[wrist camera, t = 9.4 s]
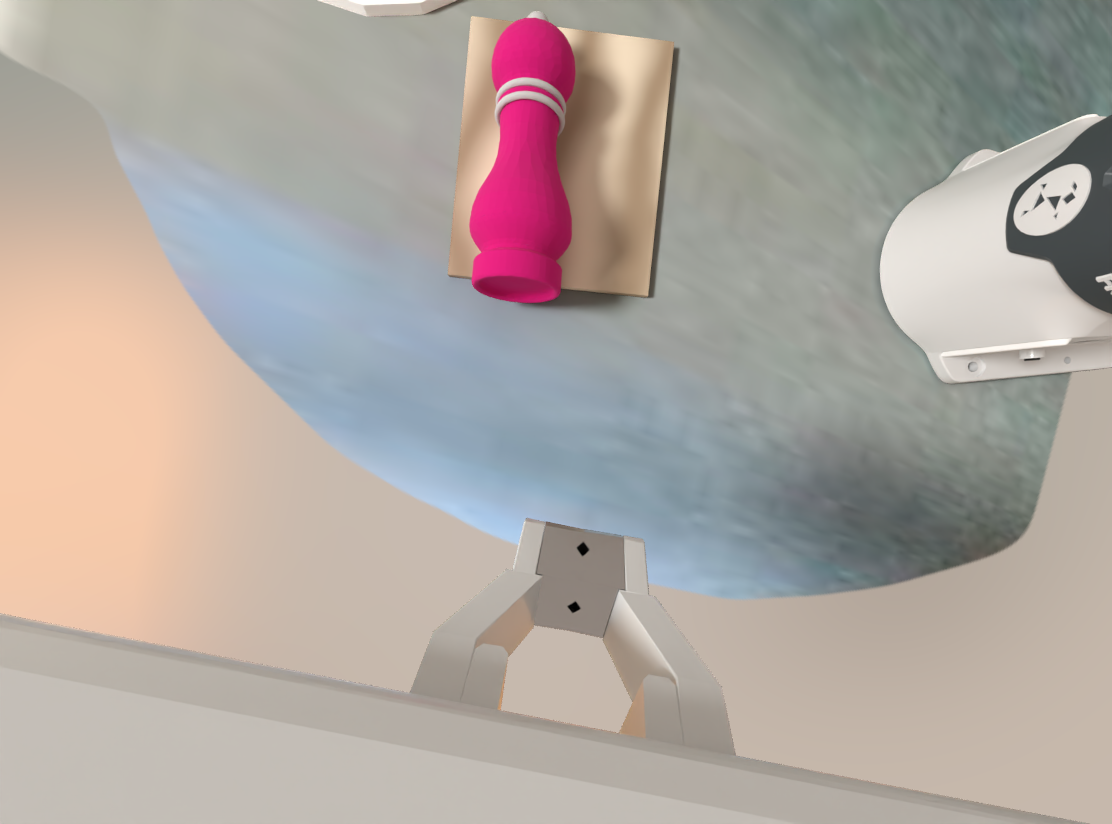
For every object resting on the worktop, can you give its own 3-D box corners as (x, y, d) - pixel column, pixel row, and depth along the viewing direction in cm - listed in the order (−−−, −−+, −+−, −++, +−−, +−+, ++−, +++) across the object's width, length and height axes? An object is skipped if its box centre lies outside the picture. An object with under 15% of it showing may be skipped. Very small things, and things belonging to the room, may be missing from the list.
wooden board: (672, 48, 35) (674, 41, 34) (646, 297, 35) (648, 295, 35) (472, 22, 34) (471, 16, 34) (449, 276, 35) (447, 274, 34)
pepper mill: (587, 290, 29) (609, 3, 30) (486, 263, 26) (513, -63, 26) (537, 310, 35) (556, 73, 36) (451, 291, 32) (473, 27, 32)
